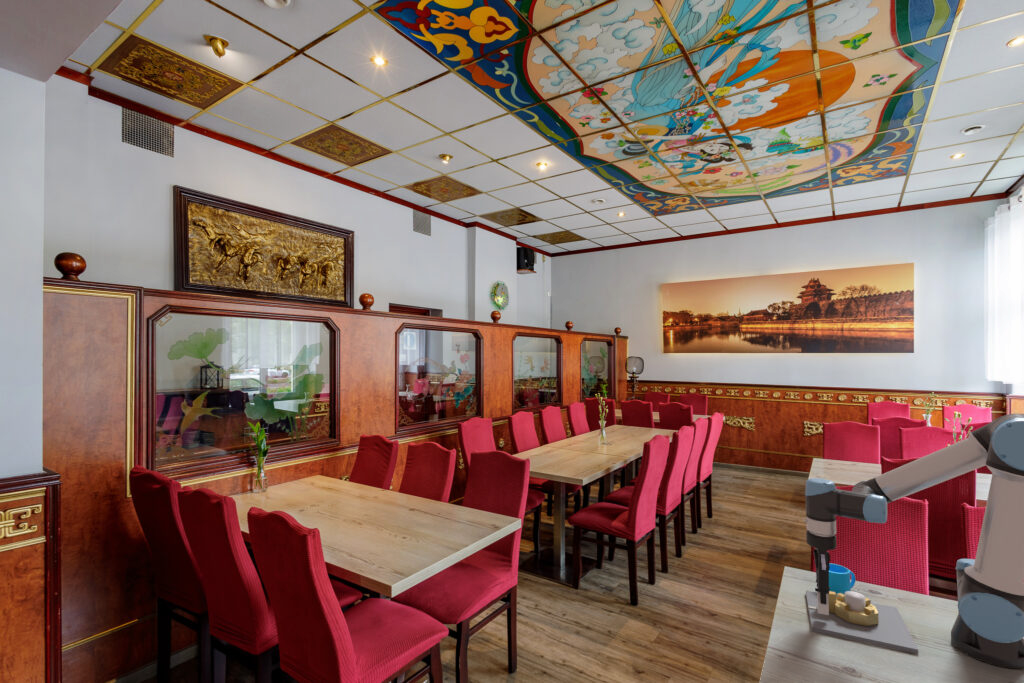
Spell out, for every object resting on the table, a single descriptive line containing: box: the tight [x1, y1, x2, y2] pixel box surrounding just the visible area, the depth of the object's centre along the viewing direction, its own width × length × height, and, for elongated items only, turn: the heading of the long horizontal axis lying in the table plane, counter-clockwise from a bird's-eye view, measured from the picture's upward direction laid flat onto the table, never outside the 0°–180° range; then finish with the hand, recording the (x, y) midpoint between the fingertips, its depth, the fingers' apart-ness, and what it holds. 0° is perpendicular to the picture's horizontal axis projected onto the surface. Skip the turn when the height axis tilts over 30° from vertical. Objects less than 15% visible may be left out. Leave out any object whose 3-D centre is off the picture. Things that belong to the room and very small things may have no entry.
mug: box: [829, 562, 857, 596], centre depth 160 cm, size 12×8×8 cm
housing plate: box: [805, 590, 919, 655], centre depth 143 cm, size 24×24×8 cm
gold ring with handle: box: [828, 591, 879, 626], centre depth 144 cm, size 15×10×6 cm
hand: (823, 612), depth 141 cm, fingers closed
